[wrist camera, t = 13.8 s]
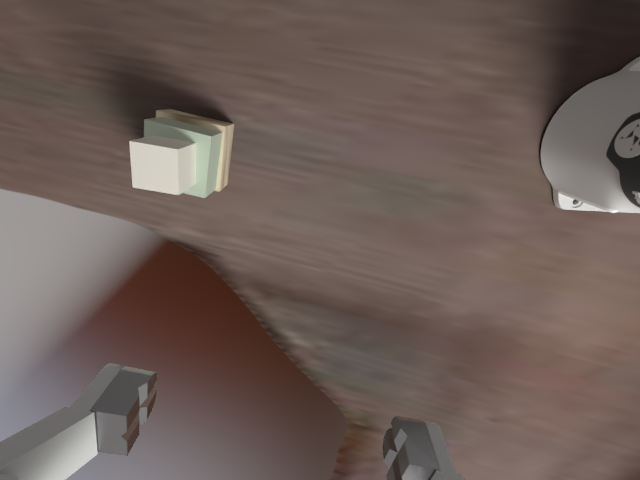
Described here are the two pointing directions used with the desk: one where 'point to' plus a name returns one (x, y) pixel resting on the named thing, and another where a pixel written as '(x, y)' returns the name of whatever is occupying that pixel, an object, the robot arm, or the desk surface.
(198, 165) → the green tower middle block
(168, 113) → the tower base
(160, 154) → the cream block
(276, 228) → the desk surface
